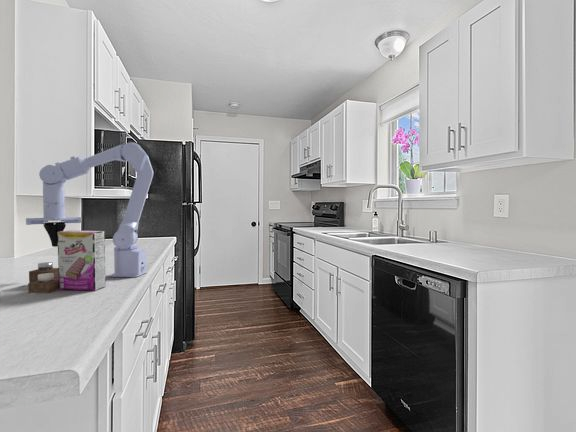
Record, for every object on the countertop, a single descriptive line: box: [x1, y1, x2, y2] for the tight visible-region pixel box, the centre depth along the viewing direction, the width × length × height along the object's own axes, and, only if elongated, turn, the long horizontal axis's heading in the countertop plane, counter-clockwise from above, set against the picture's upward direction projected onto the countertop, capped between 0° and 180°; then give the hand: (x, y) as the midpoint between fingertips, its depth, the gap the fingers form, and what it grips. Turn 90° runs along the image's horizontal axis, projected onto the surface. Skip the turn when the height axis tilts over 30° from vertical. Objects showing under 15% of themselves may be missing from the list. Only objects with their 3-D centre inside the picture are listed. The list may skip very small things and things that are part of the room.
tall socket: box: [28, 267, 59, 283], centre depth 102 cm, size 6×6×4 cm
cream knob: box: [38, 273, 54, 282], centre depth 95 cm, size 4×4×4 cm
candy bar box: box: [57, 229, 106, 292], centre depth 97 cm, size 11×5×16 cm, turn 84°
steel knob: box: [37, 261, 54, 270], centre depth 102 cm, size 4×4×6 cm
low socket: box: [27, 279, 59, 294], centre depth 95 cm, size 6×6×2 cm
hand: (55, 246), depth 110 cm, fingers closed
